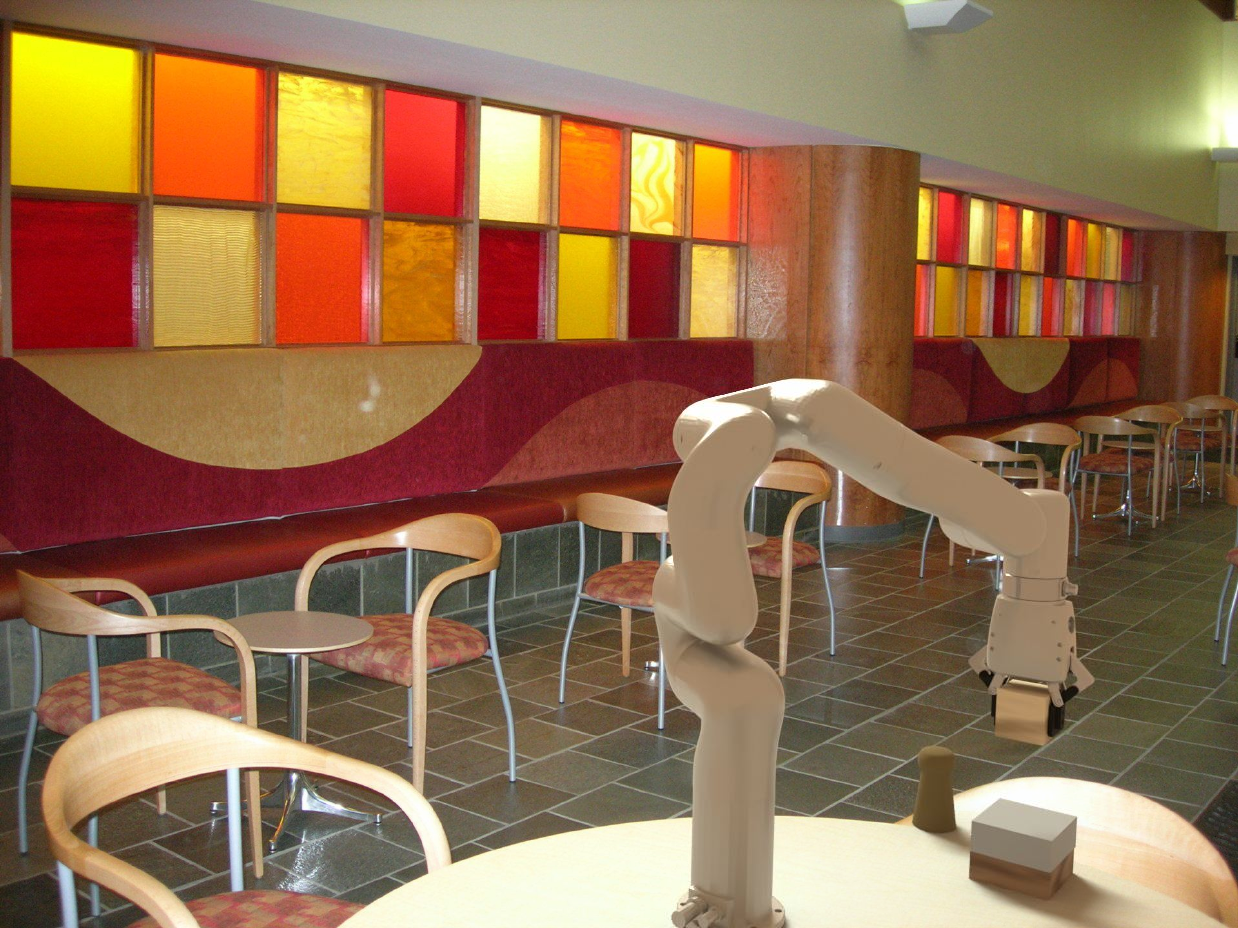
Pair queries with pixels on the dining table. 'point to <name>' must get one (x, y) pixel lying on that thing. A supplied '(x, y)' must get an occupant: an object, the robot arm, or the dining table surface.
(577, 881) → the dining table surface
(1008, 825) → the tower top
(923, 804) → the brown tapered cylinder
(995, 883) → the tower base
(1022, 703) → the block
